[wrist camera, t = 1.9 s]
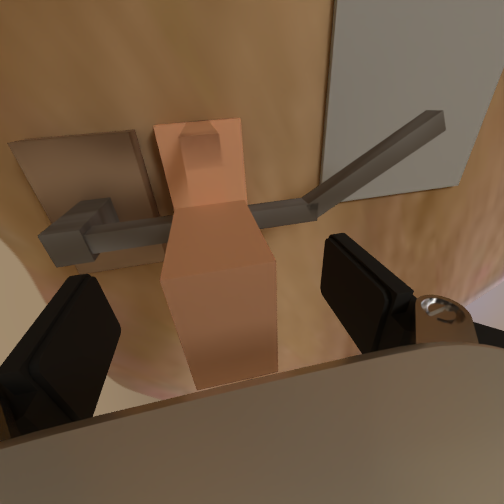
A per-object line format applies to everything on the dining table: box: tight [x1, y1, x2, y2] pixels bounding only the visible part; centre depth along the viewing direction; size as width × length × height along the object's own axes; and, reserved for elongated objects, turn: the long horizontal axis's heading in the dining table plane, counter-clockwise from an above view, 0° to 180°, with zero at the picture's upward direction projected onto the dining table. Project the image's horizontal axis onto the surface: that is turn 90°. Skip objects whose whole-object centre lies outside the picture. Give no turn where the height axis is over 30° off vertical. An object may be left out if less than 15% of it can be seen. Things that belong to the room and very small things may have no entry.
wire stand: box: [8, 110, 446, 275], centre depth 17 cm, size 10×26×8 cm, turn 94°
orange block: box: [153, 118, 278, 390], centre depth 14 cm, size 10×6×15 cm, turn 4°
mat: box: [320, 0, 504, 202], centre depth 19 cm, size 17×15×1 cm
